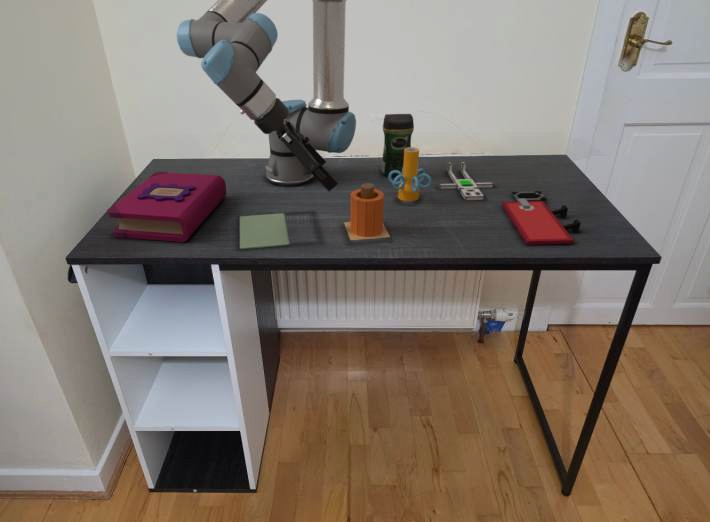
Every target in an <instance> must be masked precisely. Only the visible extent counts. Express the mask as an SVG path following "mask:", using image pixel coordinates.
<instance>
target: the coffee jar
mask: <svg viewBox="0 0 710 522" xmlns="http://www.w3.org/2000/svg"><path fill="white" fill-rule="evenodd" d="M414 130H415V125H414V117H413V114H412V113H388V114H387V113H386V114H384V117H383V123H382V132H383V135H384V139H383V140H384V141H383V150H382V159H381V168H380V169H381V170H380V171H381V173H382V174H383V175H385V176H387V177H389V174H390V172H391V171H394V170H398V171H400V172H401V173H402V168H403V164H404V149H405V148H408V147H412V135H413V134H414V133H413V132H414ZM398 175H399V174H398V173H393V174H392V176H391V177H397V176H398Z"/></svg>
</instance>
